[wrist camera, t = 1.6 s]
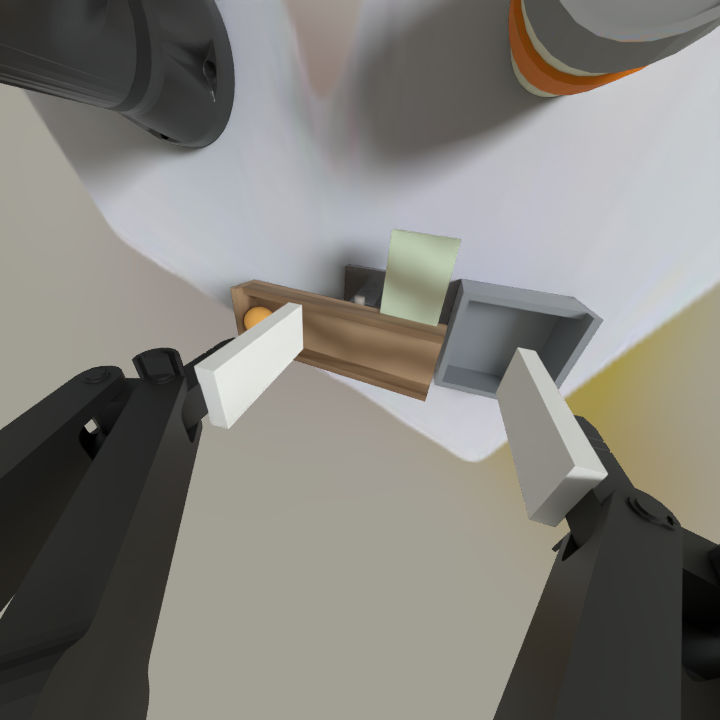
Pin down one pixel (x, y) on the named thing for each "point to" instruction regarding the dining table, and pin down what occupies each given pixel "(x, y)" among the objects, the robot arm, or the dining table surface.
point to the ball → (255, 316)
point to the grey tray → (510, 335)
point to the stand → (364, 284)
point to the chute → (373, 318)
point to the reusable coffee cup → (599, 39)
